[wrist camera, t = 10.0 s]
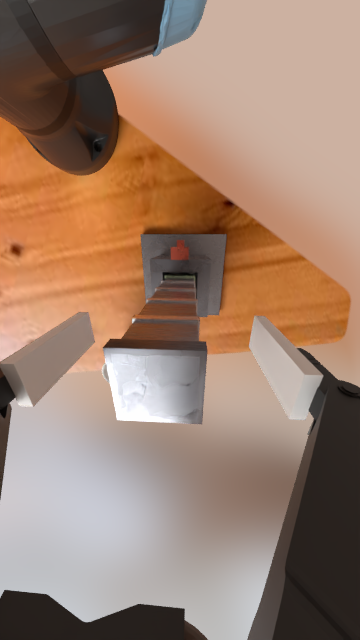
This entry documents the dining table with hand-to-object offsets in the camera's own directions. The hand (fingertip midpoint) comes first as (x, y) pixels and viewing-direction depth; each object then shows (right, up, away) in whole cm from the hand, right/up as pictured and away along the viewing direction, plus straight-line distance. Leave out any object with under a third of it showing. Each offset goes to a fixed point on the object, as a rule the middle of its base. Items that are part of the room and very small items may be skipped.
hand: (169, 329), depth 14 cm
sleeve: (+1, +10, +23) cm, 25 cm away
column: (+1, +6, +15) cm, 16 cm away
